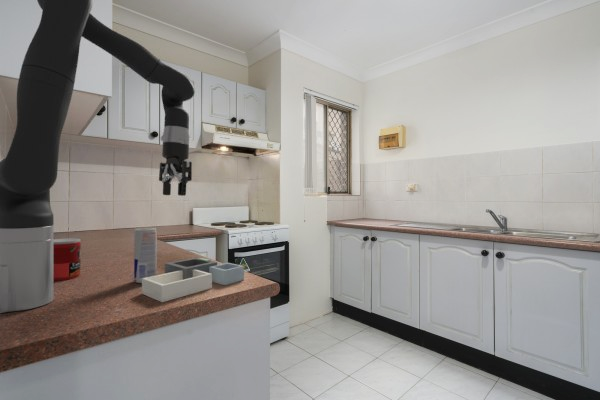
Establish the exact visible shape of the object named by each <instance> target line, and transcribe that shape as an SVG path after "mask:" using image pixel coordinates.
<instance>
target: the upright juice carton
mask: <svg viewBox="0 0 600 400" xmlns="http://www.w3.org/2000/svg"><path fill="white" fill-rule="evenodd" d="M157 235H158V232H157V228H156V227H141V228H140V227H138V228H135V229H134V237H133V238H134V242H133V243H134V246H133V247H134V250H133V251H134V252H133V253H134V254H133V259H134V261H133V263H134V264H133V265H134V266H133V269H134V271H133V275H134V276H133V278H134V279H133V281H134V282H135V283H138V284H142V278H146V277H151V276H156V275H157V264H158V262H157V250H158V249H157V248H158V247H157V245H158V244H157V243H158V241H157Z"/></svg>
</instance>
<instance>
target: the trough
mask: <svg viewBox="0 0 600 400" xmlns="http://www.w3.org/2000/svg"><path fill="white" fill-rule="evenodd" d="M212 288H213V282H212V274H211V273H207V272H203V271H200V270H196V269H195V270H193V278H188V279H184V280H183V271H182V270H180V271H175V272H170V273H166V274H165V273H162V274H158V275H157V274H156V276H151V277H146V278H142V283H141V294H142V295H144V296H147V297H149V298H150V299H153V300H156V301H159V302H160V303H165V302H168V301H172V300H175V299H179V298H182V297H185V296H190V295H192V294H196V293H199V292H204V291H207V290H210V289H212Z"/></svg>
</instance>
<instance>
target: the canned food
mask: <svg viewBox="0 0 600 400" xmlns="http://www.w3.org/2000/svg"><path fill="white" fill-rule="evenodd" d="M81 243H82V241H81V238H77V237H75V238H74V237H68V238H67V237H66V238H64V237H63V238H55V239H54V238H53V282H54V281H67V280H72V279H76V278H79V277H80V275H81V269H82V268H81V267H82V266H81V263H82V262H81V254H82V253H81V249H82V247H81V245H82V244H81Z"/></svg>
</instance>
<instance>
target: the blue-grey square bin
mask: <svg viewBox="0 0 600 400" xmlns="http://www.w3.org/2000/svg"><path fill="white" fill-rule="evenodd" d="M209 273H211V274H212V283H216V284H219V285H223V286H228V285H231V284H234V283H238V282H241V281H245V266H244V265H241V264H235V263H231V262H225V263H222V264H221V263H220V264H217V265H216V266H211V267H209Z"/></svg>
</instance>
